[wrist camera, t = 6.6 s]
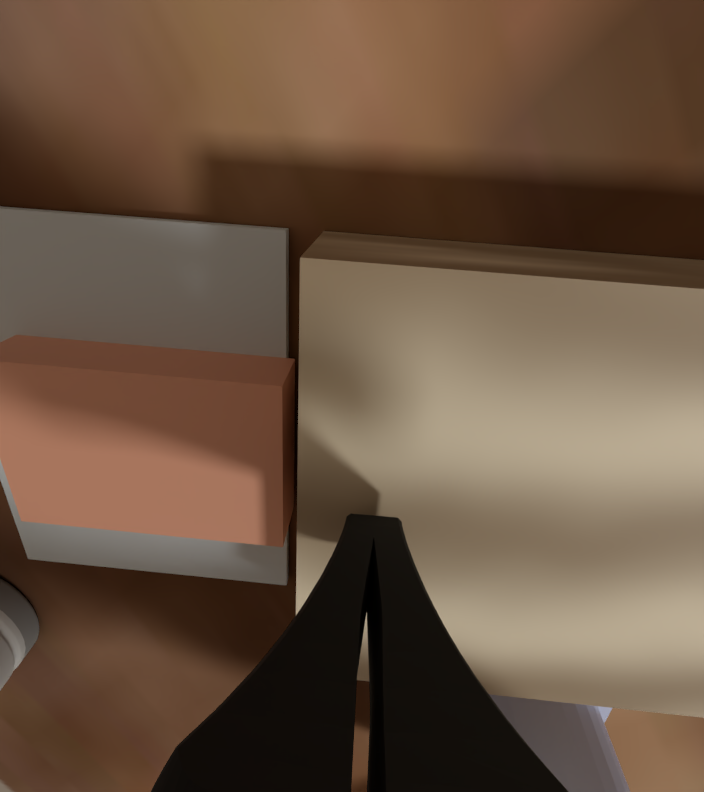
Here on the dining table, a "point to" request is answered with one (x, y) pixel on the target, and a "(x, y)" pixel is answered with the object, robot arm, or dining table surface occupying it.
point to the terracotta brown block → (148, 438)
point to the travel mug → (15, 629)
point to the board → (517, 453)
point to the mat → (146, 340)
